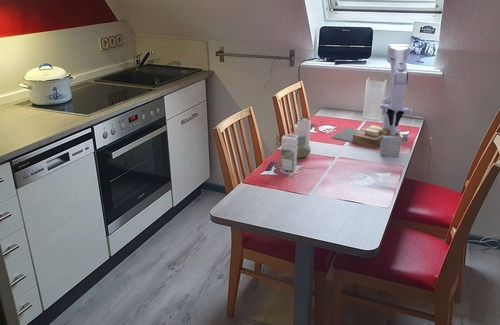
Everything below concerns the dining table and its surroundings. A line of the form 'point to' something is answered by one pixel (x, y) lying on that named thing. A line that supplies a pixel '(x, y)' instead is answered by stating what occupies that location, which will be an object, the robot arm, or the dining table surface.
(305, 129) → the can
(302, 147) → the air freshener
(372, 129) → the tile
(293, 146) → the syrup box
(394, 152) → the medicine box
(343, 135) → the mat
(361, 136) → the brown shallow box
